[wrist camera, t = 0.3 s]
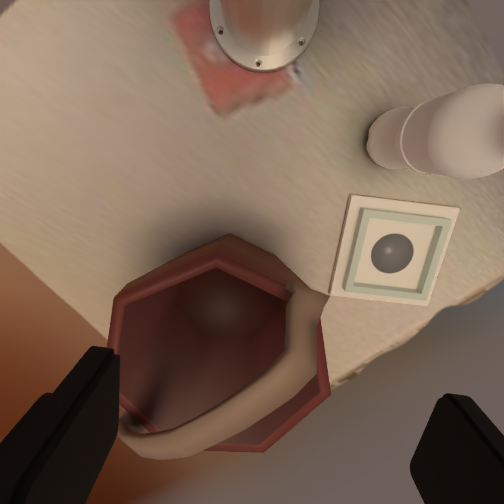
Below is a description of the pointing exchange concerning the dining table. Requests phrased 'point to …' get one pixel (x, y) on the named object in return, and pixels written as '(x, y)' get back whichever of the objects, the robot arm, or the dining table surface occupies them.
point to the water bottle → (444, 134)
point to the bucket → (217, 352)
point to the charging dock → (391, 249)
